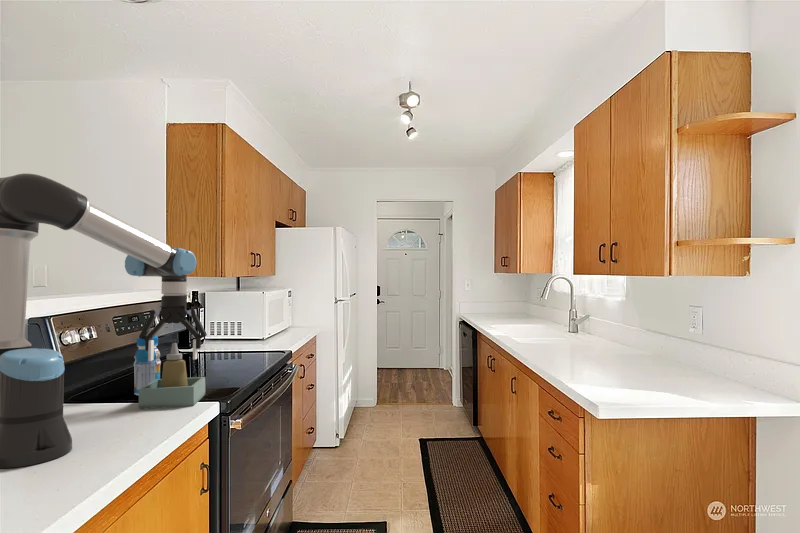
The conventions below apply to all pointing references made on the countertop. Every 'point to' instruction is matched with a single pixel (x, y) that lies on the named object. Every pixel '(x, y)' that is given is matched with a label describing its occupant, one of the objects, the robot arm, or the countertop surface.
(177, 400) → the box
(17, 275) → the robot arm
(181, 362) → the squeeze bottle
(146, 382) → the beverage bottle
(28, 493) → the countertop surface
